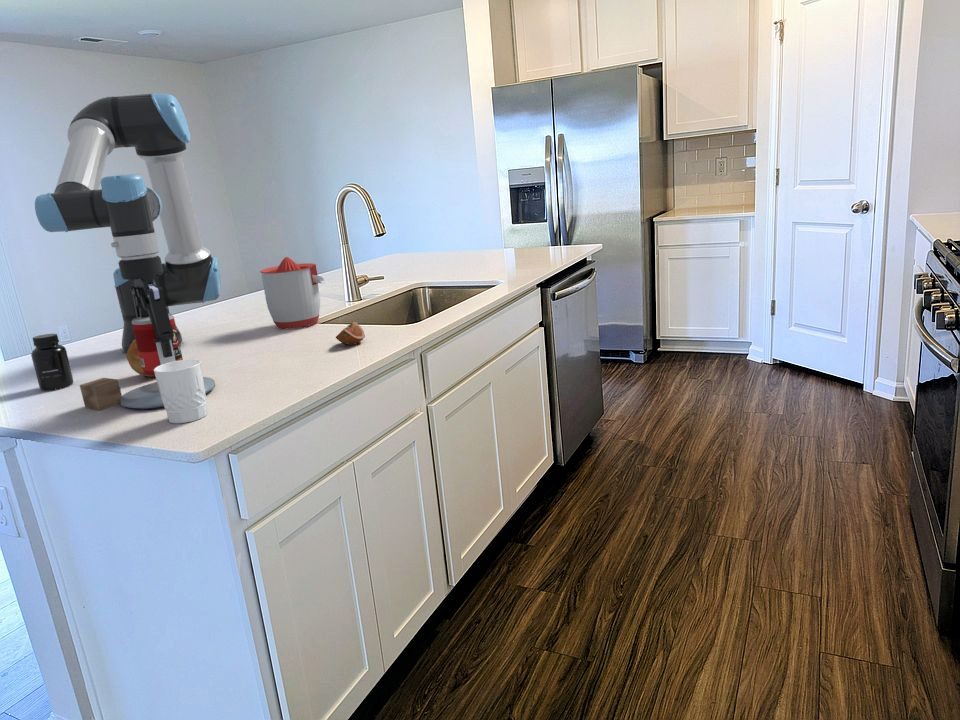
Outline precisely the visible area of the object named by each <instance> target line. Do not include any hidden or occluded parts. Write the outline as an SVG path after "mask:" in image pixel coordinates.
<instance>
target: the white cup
mask: <svg viewBox="0 0 960 720" xmlns="http://www.w3.org/2000/svg"><path fill="white" fill-rule="evenodd" d="M154 373H155V377H154V378H155V380H156V382H157V384H158V387H159V391H160V395H161V398H162V401H163V404H164V407H163V408H164V409H165V412H166V415H167V419H168V421H169V423H170V424H185V423H186V424H187V423H191V422H195V421H197V420H200V419H202V418H205V417H206V416H207V414H208V407H207V401H206V400H207V396H206V394H205V388H204V380H203V377H204V376H203V369H202V363H201V360H199V359H193V358H189V359H183V360H179V361H174V362H169V363H166V364H163V365H160V366H158V367H156V368H155V369H154Z"/></svg>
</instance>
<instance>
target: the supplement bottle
mask: <svg viewBox="0 0 960 720" xmlns="http://www.w3.org/2000/svg"><path fill="white" fill-rule="evenodd" d="M32 342H33V347H35V348H34V349H33V350H32V351H31V352H30V353H31V354H30V355H31V360H32V364H33V368H34V372H35V377H36V380H37V383H38V388H39V389H40V390H41V391H43V390H51V391H56V390H55V389H58V390H61V389H60V388H62V389H66V388H68V387H71V386H72V385H73V384H74V377H73V373H72V370H71V365H70V361H69V356H68V351H67V349H66V347H65V346H63V345H61V344H59V342H60V340H59V336H58V334H57V333H45V334H40V335H35V336H33V337H32ZM70 385H71V386H70ZM65 387H66V388H65Z"/></svg>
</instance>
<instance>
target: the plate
mask: <svg viewBox="0 0 960 720" xmlns="http://www.w3.org/2000/svg"><path fill="white" fill-rule="evenodd" d="M203 380H204V388H205V395H206V394H207V393H210V392H211V391H212V390H213V389H214V388H215V387H216V381H215V380H214V379H213V378H211V377H207V376H203ZM120 402H121V403H120V405H121V406H122V407H125V408H129V409H157V408H164V404H163V401H162V398H161V395H160V391H159V387H158V384H157V381H156V382H152V383H148V384H145V385H142V386H139V387H136V388H134V389H131V390H129V391H128V392H126V393H124V394H123V395H122V397H121V398H120Z"/></svg>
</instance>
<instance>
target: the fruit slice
mask: <svg viewBox="0 0 960 720" xmlns="http://www.w3.org/2000/svg"><path fill="white" fill-rule="evenodd" d="M346 326H347V327H344V328H343V329H342V330H341V331H340V332H339V333H338V334H337V335H336V336H335V339H336V340H337V341H339V342H340V343H341V344H346V345H357V344H358V343H361V342H362V341H363V340H364V339H365V336H366V335H365V331H364V330H363V328H362V326H360V325H359V323H358V322H357V321H352V323H350V324H348V325H346Z"/></svg>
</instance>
